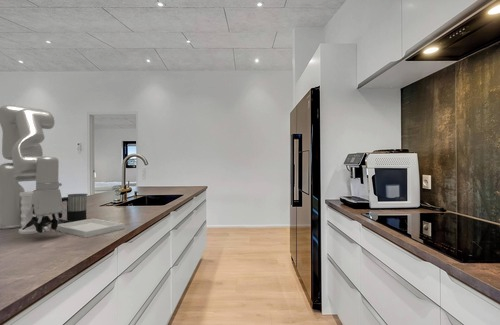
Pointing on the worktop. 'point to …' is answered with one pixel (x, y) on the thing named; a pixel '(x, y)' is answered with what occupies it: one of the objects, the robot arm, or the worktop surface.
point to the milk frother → (75, 207)
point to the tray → (90, 227)
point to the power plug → (45, 221)
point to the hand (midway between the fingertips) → (46, 230)
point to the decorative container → (25, 209)
